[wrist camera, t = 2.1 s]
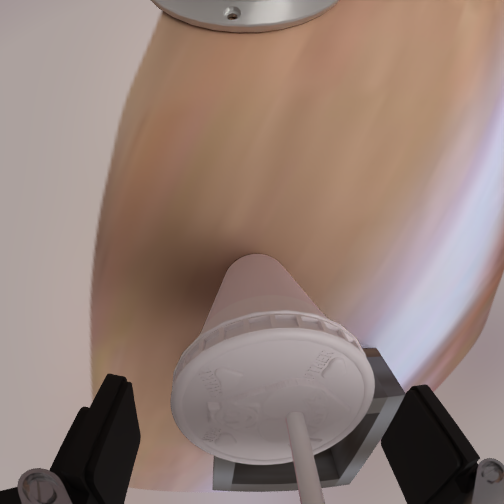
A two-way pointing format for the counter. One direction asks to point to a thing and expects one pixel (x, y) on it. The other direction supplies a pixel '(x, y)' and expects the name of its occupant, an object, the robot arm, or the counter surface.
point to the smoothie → (270, 376)
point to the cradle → (332, 459)
